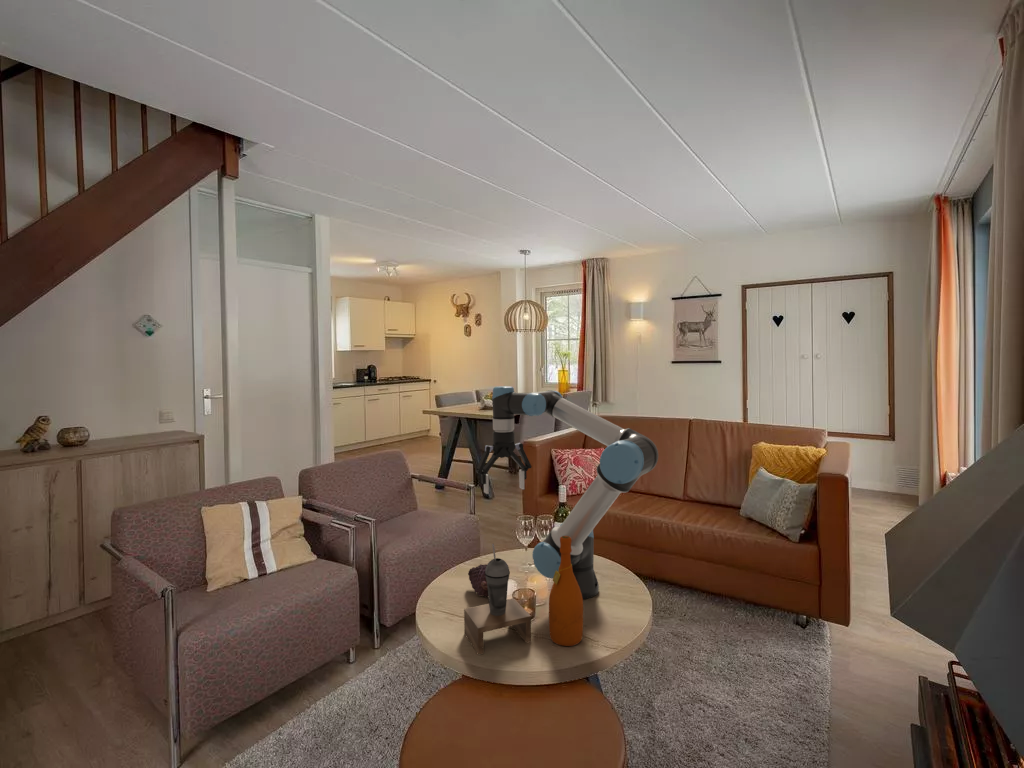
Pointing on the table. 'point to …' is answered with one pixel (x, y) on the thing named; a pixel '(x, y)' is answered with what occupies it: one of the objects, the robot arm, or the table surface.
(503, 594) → the beverage cup
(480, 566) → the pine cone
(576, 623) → the wine bottle
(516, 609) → the walnut shelf
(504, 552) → the table surface
